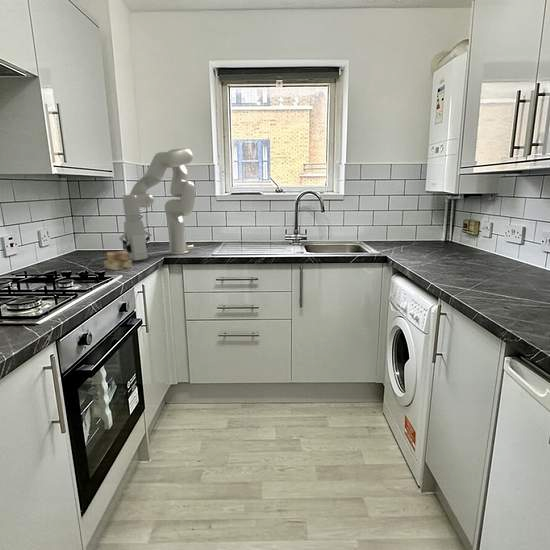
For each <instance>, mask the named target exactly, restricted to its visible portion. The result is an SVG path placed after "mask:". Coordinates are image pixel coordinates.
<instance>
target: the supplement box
mask: <svg viewBox="0 0 550 550" xmlns="http://www.w3.org/2000/svg"><path fill="white" fill-rule="evenodd" d="M126 239H127V238H126ZM145 239H146V238H145V235H140V236H133V237H131V241H130V243H129V245H130V248H131V253H129V260H132V261H139V260H140V261H141V260H144V259H148V258H149V255H148V248H146V242H145Z"/></svg>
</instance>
